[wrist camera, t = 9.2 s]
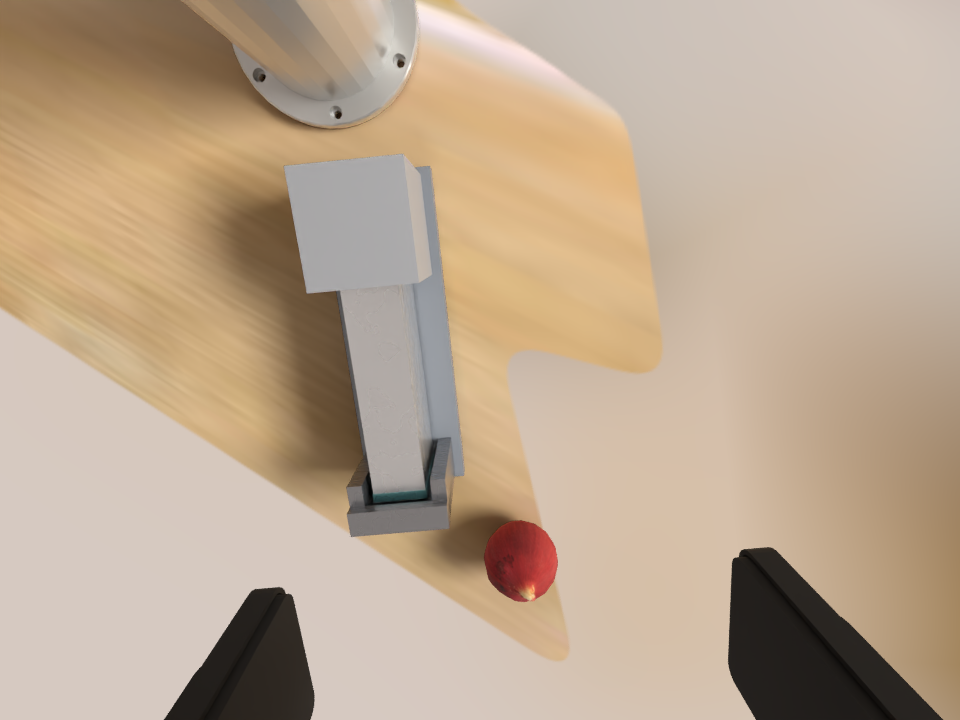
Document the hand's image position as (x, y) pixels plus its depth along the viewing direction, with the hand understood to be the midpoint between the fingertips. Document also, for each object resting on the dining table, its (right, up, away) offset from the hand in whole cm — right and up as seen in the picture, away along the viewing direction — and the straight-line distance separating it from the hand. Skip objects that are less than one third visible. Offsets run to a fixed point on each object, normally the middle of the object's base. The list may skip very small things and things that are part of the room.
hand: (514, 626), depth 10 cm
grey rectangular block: (-7, +5, +26) cm, 28 cm away
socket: (-6, -2, +29) cm, 29 cm away
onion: (+3, -10, +32) cm, 33 cm away
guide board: (-7, +8, +27) cm, 29 cm away
